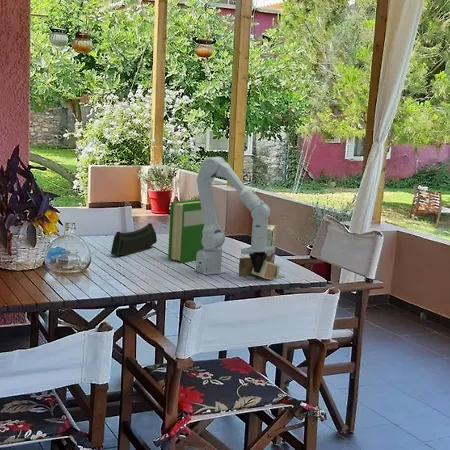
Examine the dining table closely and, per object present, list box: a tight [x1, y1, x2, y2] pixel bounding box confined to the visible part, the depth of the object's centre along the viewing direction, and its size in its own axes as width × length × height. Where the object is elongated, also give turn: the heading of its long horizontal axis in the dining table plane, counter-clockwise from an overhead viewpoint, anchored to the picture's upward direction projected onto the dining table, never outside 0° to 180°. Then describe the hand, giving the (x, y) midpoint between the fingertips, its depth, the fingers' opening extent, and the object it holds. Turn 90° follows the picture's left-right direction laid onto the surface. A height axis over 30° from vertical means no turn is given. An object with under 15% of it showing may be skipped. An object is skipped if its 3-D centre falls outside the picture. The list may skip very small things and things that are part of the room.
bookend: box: [273, 265, 286, 279], centre depth 263 cm, size 4×7×4 cm, turn 35°
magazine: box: [110, 222, 158, 256], centre depth 290 cm, size 17×3×30 cm
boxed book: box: [251, 261, 277, 281], centre depth 258 cm, size 4×8×6 cm, turn 34°
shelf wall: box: [238, 256, 270, 278], centre depth 262 cm, size 14×1×7 cm, turn 125°
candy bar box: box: [265, 224, 277, 264], centre depth 277 cm, size 11×5×16 cm, turn 168°
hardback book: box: [167, 198, 204, 264], centre depth 282 cm, size 18×7×24 cm, turn 143°
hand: (256, 272), depth 257 cm, fingers closed
